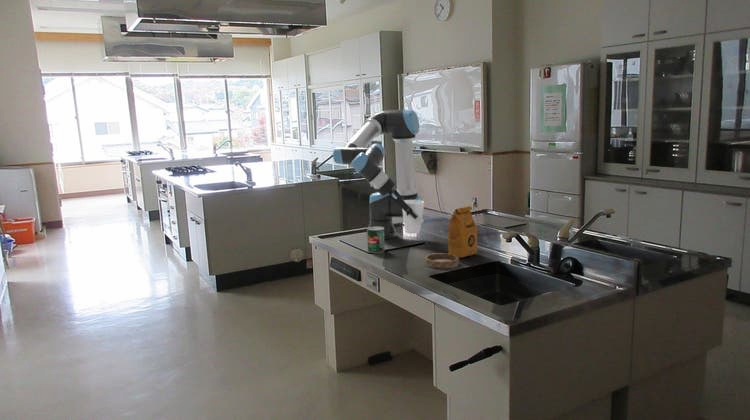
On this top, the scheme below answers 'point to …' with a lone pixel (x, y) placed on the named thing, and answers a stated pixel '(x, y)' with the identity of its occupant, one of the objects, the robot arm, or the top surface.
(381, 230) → the canned tomato
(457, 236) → the coffee package
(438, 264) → the walnut ring holder
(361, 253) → the top surface
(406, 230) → the foam cup
